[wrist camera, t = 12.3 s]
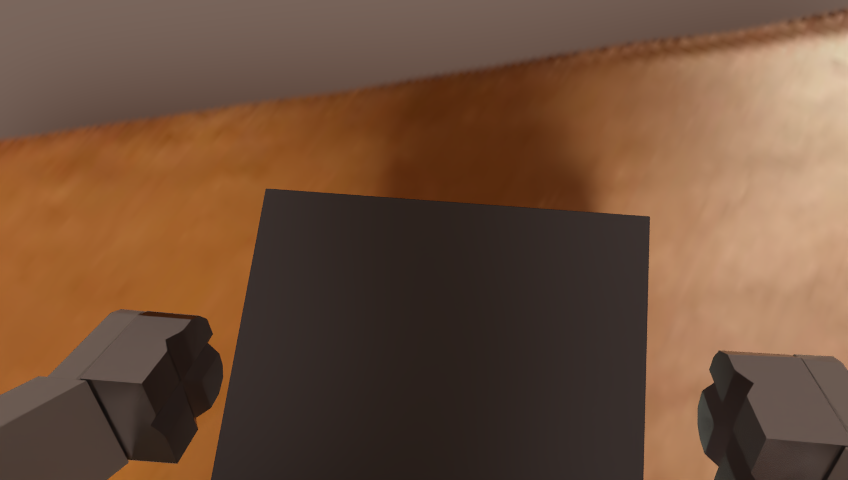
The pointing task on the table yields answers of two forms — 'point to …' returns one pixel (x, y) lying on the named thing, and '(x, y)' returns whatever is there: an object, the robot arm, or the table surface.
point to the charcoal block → (438, 343)
